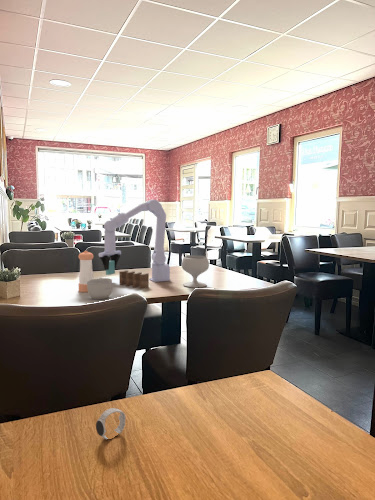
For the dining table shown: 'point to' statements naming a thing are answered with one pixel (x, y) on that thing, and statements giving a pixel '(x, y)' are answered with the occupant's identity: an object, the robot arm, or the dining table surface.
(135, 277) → the domino
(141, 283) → the domino
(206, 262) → the chalice
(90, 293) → the teacup
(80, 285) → the salt shaker
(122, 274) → the domino
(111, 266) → the domino
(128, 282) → the brown wooden block
